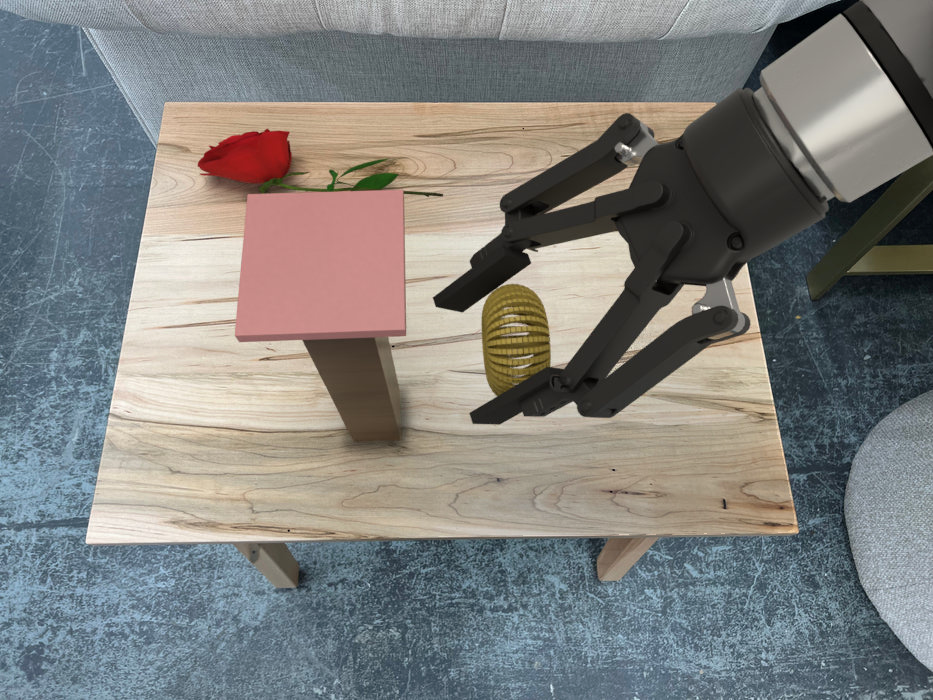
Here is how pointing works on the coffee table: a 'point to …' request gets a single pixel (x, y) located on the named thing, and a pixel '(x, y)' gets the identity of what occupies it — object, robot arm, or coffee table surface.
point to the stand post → (361, 384)
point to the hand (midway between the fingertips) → (466, 359)
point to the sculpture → (508, 347)
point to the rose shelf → (322, 266)
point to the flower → (276, 164)
